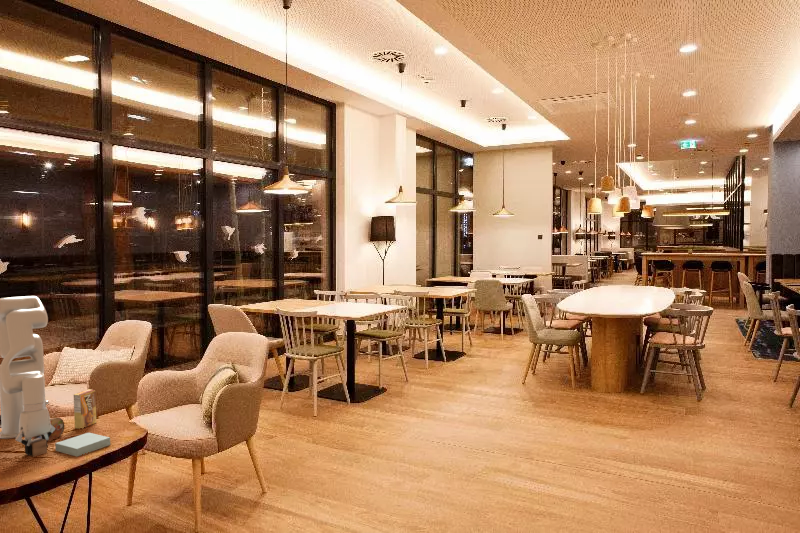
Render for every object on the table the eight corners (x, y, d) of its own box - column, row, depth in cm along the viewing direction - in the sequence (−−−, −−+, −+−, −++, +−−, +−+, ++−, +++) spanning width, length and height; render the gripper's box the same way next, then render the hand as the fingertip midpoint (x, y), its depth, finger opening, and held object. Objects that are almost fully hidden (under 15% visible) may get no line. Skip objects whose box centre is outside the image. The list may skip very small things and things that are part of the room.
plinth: (55, 450, 230) (55, 443, 230) (89, 439, 242) (88, 432, 242) (77, 456, 223) (76, 448, 223) (110, 444, 236) (110, 437, 235)
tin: (37, 447, 235) (36, 426, 234) (30, 446, 235) (29, 426, 235) (65, 434, 249) (64, 415, 249) (59, 434, 250) (58, 414, 250)
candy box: (89, 422, 266) (87, 389, 265) (97, 422, 265) (95, 389, 264) (74, 428, 257) (72, 394, 256) (82, 429, 256) (80, 394, 255)
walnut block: (26, 454, 227) (25, 441, 226) (39, 450, 231) (38, 437, 231) (33, 456, 224) (33, 443, 224) (46, 452, 228) (46, 439, 228)
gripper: (50, 400, 236) (52, 444, 237) (5, 411, 221) (8, 458, 222) (61, 402, 232) (63, 447, 233) (16, 414, 217) (19, 461, 218)
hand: (36, 452), depth 227 cm, fingers closed on walnut block, 5 cm apart
